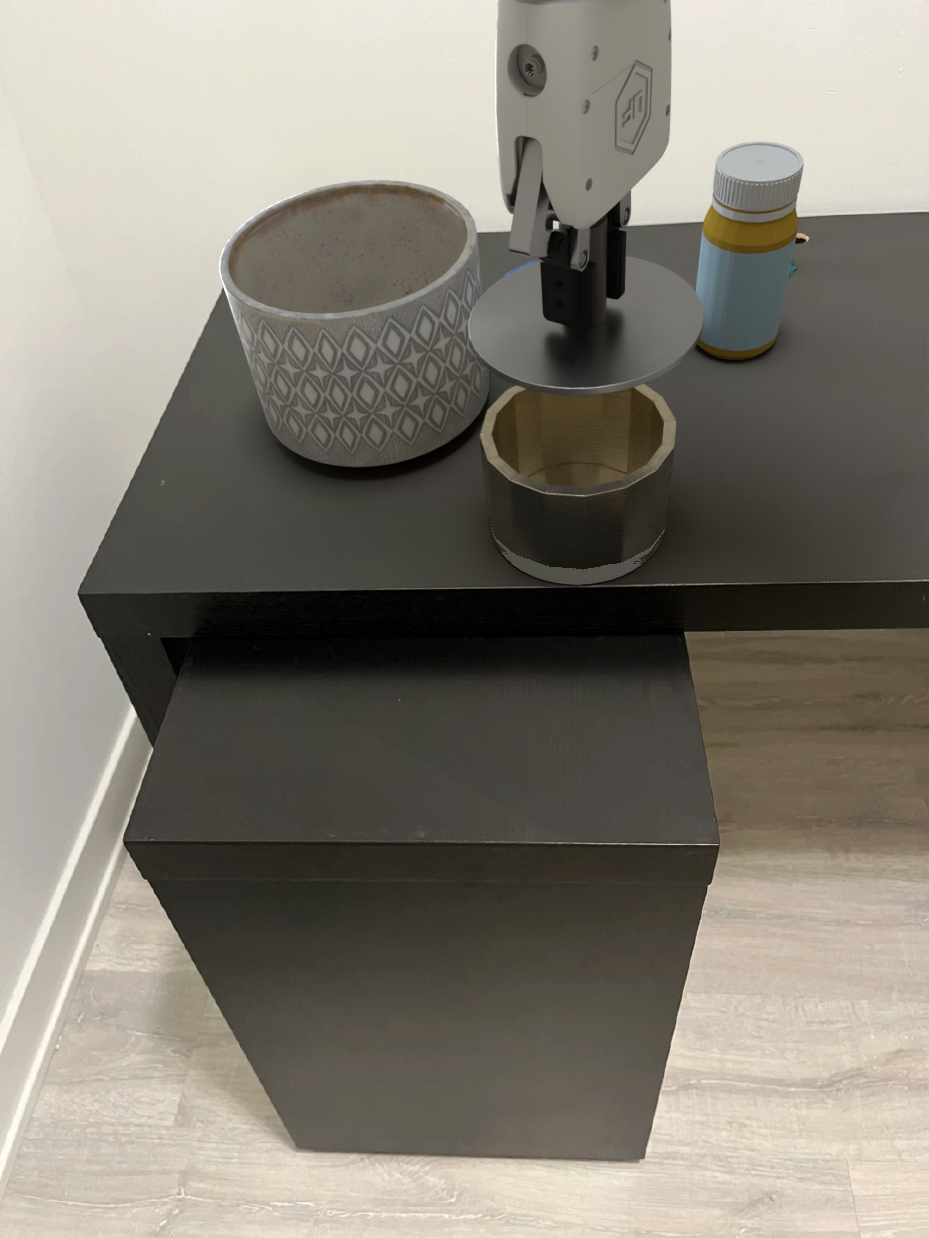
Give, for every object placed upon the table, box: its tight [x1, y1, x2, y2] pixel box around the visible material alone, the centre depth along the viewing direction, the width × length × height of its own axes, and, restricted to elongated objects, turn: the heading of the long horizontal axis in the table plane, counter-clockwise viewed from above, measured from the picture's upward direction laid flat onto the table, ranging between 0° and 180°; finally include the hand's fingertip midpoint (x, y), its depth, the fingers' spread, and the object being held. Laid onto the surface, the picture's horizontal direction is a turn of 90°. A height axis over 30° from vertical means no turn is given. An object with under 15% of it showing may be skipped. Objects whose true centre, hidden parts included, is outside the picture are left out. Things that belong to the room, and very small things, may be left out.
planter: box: [218, 179, 491, 468], centre depth 73 cm, size 19×19×14 cm
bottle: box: [695, 141, 805, 361], centre depth 74 cm, size 7×7×15 cm
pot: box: [479, 383, 678, 570], centre depth 65 cm, size 13×13×8 cm
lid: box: [469, 214, 704, 396], centre depth 53 cm, size 14×14×7 cm
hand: (584, 305), depth 55 cm, fingers closed on lid, 2 cm apart
